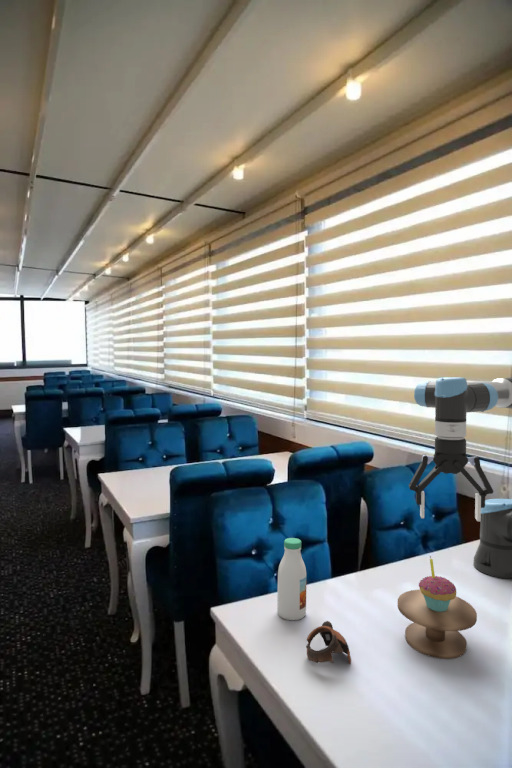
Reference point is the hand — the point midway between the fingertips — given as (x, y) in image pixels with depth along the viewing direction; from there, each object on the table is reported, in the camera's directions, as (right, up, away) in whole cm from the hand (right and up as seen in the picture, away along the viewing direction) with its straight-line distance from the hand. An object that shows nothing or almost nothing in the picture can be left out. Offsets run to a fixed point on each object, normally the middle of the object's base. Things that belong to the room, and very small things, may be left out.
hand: (449, 518), depth 125 cm
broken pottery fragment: (-34, -28, -15) cm, 46 cm away
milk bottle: (-41, -27, +4) cm, 49 cm away
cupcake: (-6, -19, -8) cm, 22 cm away
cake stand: (-7, -28, -8) cm, 30 cm away
